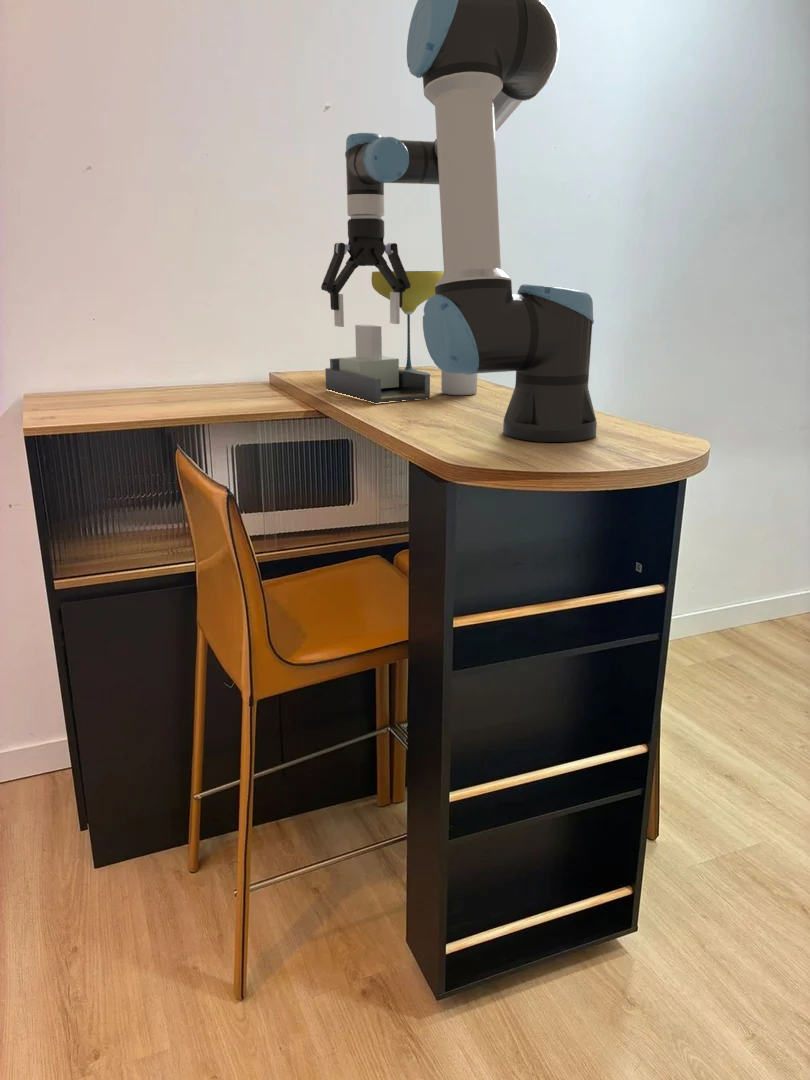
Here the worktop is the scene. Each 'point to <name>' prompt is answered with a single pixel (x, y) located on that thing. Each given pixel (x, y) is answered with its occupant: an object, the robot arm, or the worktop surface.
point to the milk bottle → (458, 384)
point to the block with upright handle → (371, 357)
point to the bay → (377, 385)
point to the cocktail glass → (410, 296)
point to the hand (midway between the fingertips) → (367, 325)
